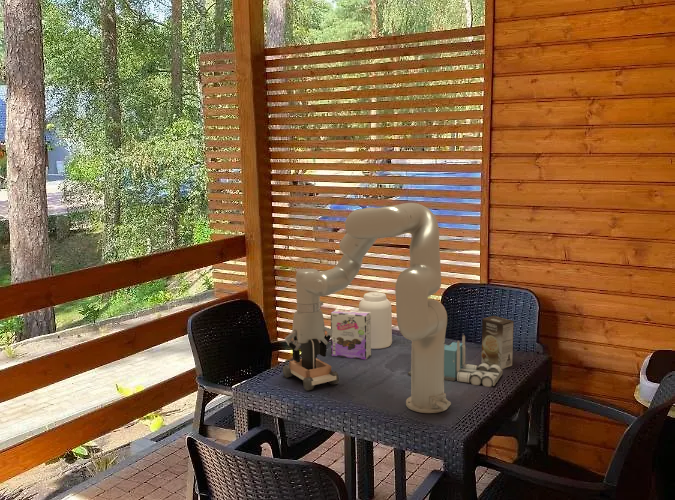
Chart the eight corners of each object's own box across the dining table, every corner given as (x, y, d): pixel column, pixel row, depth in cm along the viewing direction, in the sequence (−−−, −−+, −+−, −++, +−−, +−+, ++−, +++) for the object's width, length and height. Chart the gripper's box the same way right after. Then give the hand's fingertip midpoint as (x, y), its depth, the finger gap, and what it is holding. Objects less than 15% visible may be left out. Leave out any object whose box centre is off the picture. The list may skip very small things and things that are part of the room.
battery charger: (321, 372, 218) (321, 338, 216) (311, 375, 216) (310, 340, 214) (310, 367, 224) (310, 333, 222) (301, 369, 222) (300, 335, 220)
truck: (419, 365, 234) (419, 323, 232) (502, 376, 222) (503, 332, 219) (407, 376, 223) (407, 332, 221) (494, 388, 211) (495, 342, 209)
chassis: (339, 385, 216) (338, 368, 215) (309, 392, 210) (308, 374, 209) (311, 369, 231) (311, 353, 230) (282, 375, 225) (282, 359, 224)
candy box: (330, 356, 245) (329, 312, 242) (336, 351, 250) (335, 308, 248) (366, 360, 240) (365, 315, 237) (371, 355, 245) (371, 311, 243)
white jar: (396, 341, 261) (396, 291, 258) (385, 351, 250) (384, 298, 247) (366, 338, 266) (365, 289, 263) (354, 347, 255) (353, 295, 252)
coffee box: (480, 363, 234) (481, 318, 232) (492, 359, 238) (493, 315, 236) (501, 369, 227) (502, 323, 225) (513, 365, 231) (514, 320, 228)
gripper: (325, 301, 224) (326, 350, 227) (279, 308, 215) (280, 360, 218) (337, 305, 218) (338, 356, 221) (290, 313, 209) (291, 366, 212)
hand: (309, 358), depth 219 cm, fingers open, 9 cm apart
